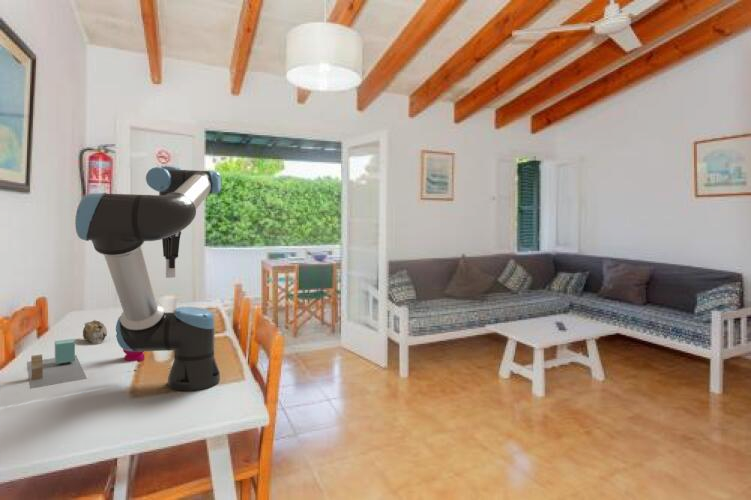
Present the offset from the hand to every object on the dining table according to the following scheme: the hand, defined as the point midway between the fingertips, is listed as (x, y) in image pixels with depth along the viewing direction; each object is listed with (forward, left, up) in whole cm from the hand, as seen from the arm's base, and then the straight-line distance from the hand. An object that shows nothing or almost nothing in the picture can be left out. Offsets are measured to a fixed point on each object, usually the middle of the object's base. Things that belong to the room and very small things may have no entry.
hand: (170, 277), depth 154 cm
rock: (+46, +17, -31) cm, 58 cm away
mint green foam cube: (+16, +30, -29) cm, 45 cm away
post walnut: (+16, +30, -30) cm, 45 cm away
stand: (+10, +33, -31) cm, 46 cm away
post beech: (+4, +38, -30) cm, 48 cm away
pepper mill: (+9, +10, -31) cm, 34 cm away
